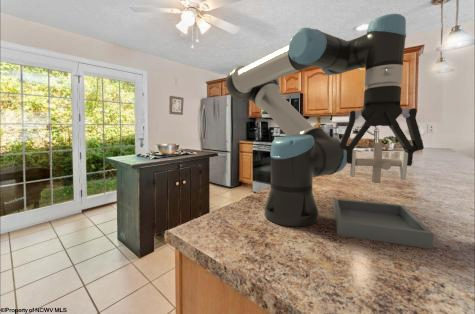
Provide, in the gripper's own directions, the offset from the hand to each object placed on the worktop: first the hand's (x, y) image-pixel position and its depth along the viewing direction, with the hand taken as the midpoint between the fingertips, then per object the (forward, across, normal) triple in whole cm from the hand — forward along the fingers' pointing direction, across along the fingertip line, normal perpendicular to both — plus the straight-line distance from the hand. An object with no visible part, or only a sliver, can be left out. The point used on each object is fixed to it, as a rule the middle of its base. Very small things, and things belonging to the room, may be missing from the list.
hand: (376, 177), depth 55 cm
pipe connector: (+1, 0, 0) cm, 1 cm away
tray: (+13, 0, 0) cm, 13 cm away
